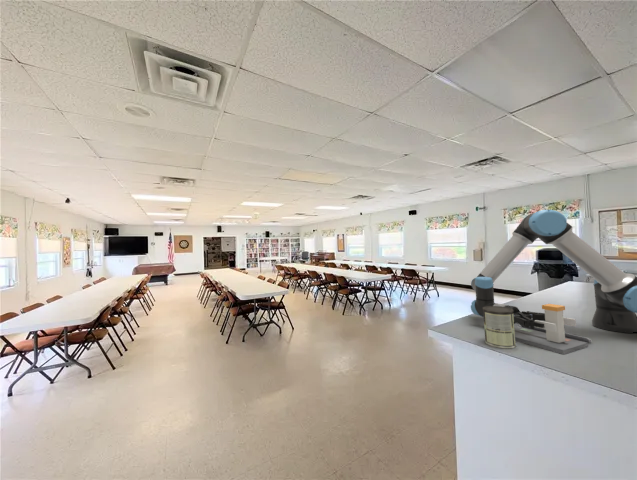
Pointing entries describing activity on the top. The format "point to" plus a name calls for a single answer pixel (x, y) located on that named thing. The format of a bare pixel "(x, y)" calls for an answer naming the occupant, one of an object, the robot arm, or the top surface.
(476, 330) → the top surface
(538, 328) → the grey flat bar
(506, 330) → the coffee can
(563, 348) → the switch panel
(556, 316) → the breaker handle
